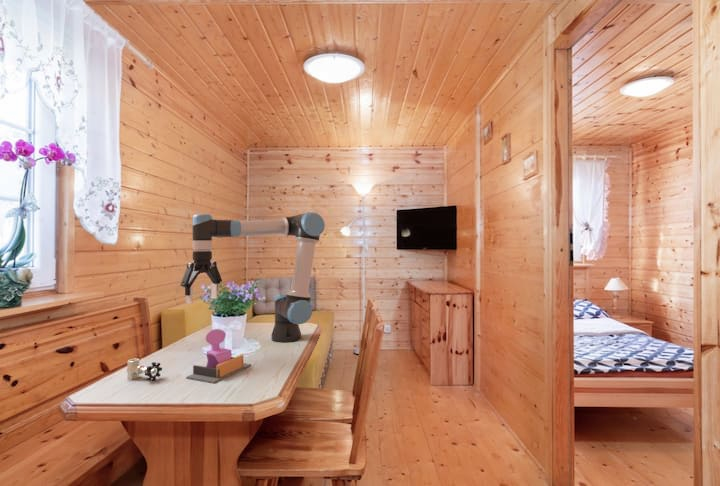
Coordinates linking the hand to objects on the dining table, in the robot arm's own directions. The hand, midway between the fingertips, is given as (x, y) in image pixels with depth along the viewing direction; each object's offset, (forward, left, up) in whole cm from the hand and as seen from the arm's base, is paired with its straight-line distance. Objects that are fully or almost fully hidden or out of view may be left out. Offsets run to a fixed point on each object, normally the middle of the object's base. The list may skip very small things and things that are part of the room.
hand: (202, 301), depth 154 cm
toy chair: (+9, +17, -24) cm, 31 cm away
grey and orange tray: (+9, +17, -25) cm, 31 cm away
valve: (+25, -3, -25) cm, 36 cm away
